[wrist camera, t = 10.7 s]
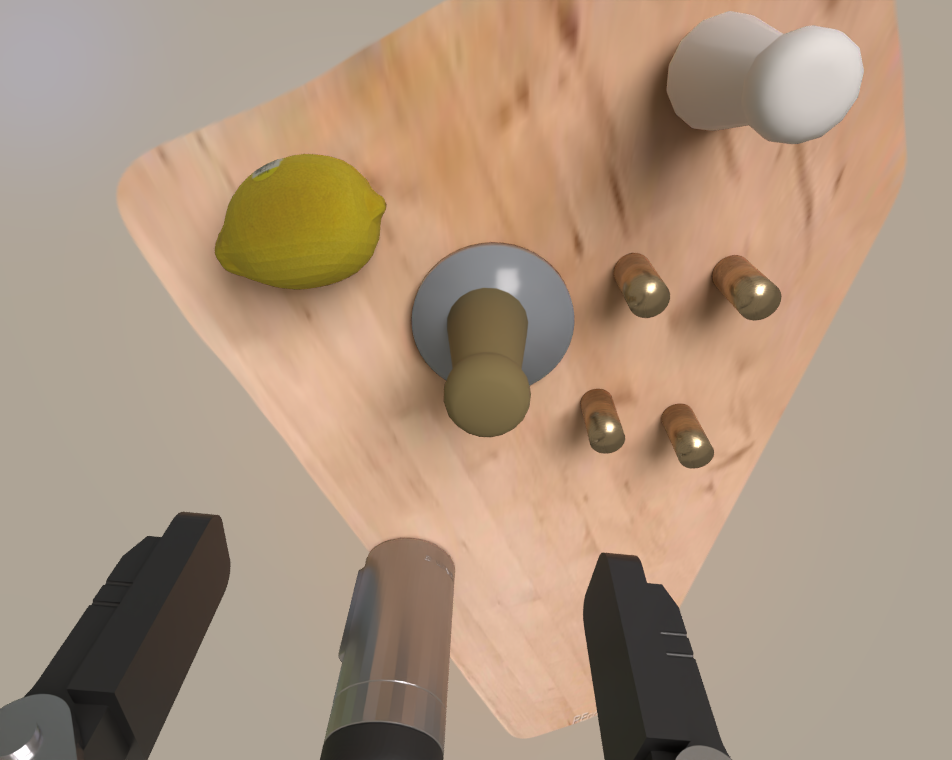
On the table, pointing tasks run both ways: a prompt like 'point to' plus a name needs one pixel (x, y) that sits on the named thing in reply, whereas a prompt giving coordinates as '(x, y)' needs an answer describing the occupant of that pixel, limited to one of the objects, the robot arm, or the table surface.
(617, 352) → the table surface
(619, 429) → the cylinder
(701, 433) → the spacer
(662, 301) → the cylinder
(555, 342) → the slate coaster
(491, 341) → the cork
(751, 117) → the salt shaker
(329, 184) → the lemon
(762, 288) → the cylinder
